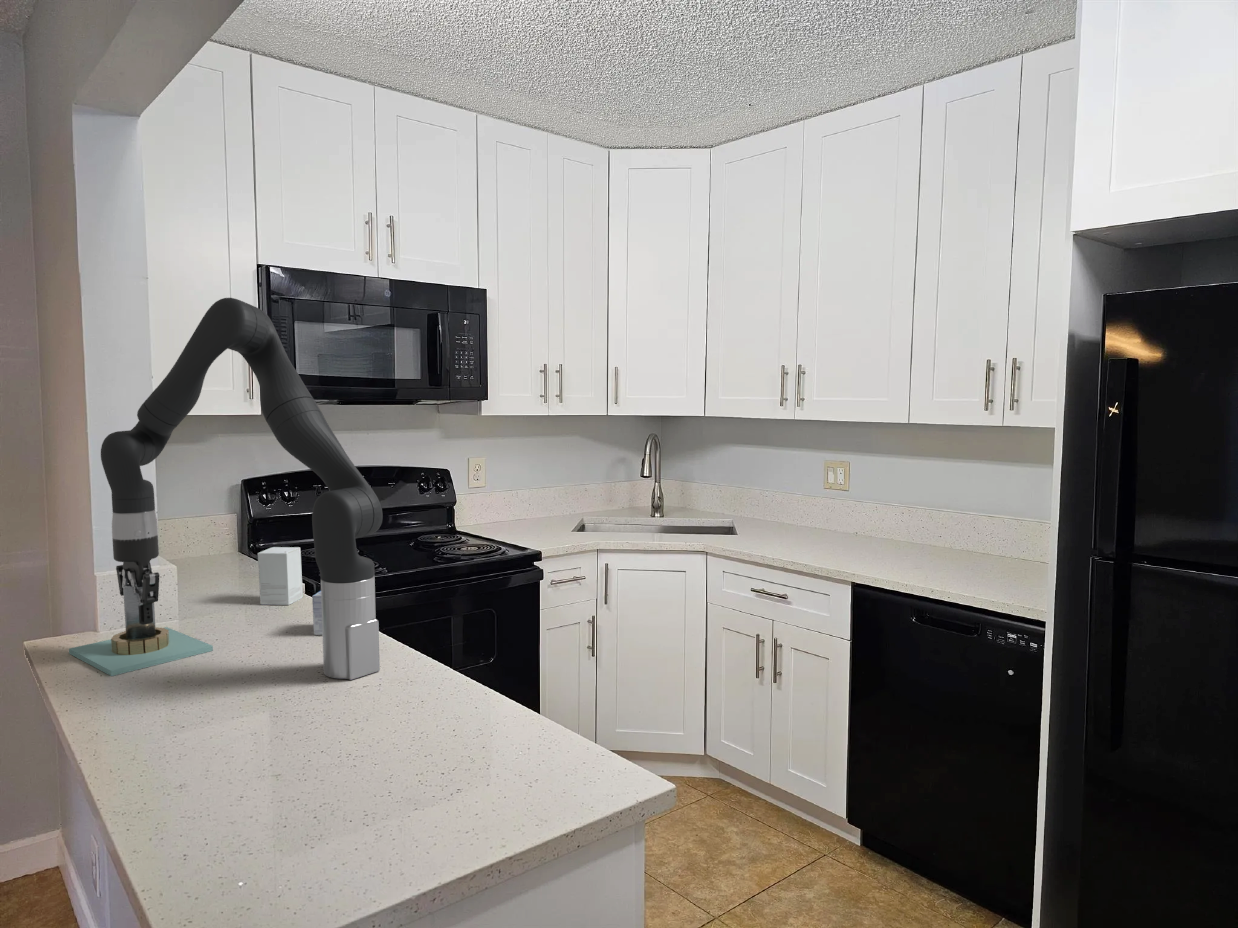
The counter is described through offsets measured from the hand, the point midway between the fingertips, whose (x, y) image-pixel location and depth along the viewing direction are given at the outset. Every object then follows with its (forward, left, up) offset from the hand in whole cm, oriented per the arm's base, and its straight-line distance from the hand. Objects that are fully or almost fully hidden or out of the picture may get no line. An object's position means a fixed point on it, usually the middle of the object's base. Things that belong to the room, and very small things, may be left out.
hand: (140, 620), depth 158 cm
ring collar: (0, 0, -6) cm, 6 cm away
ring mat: (0, 0, -6) cm, 6 cm away
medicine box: (-16, -31, -6) cm, 35 cm away
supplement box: (+14, -37, -6) cm, 40 cm away
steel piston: (0, 0, -3) cm, 3 cm away
